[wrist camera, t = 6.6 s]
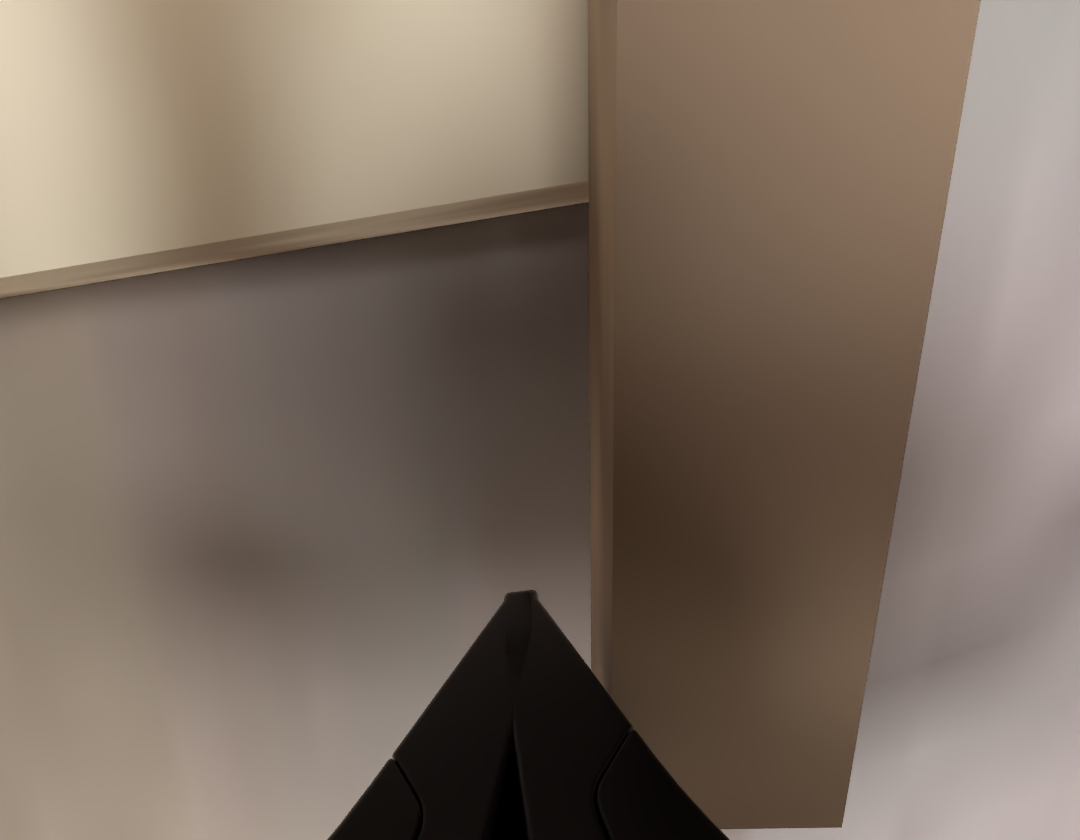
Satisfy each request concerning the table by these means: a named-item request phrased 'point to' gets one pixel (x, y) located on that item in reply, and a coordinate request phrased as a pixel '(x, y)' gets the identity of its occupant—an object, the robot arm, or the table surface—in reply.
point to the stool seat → (275, 126)
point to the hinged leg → (757, 368)
